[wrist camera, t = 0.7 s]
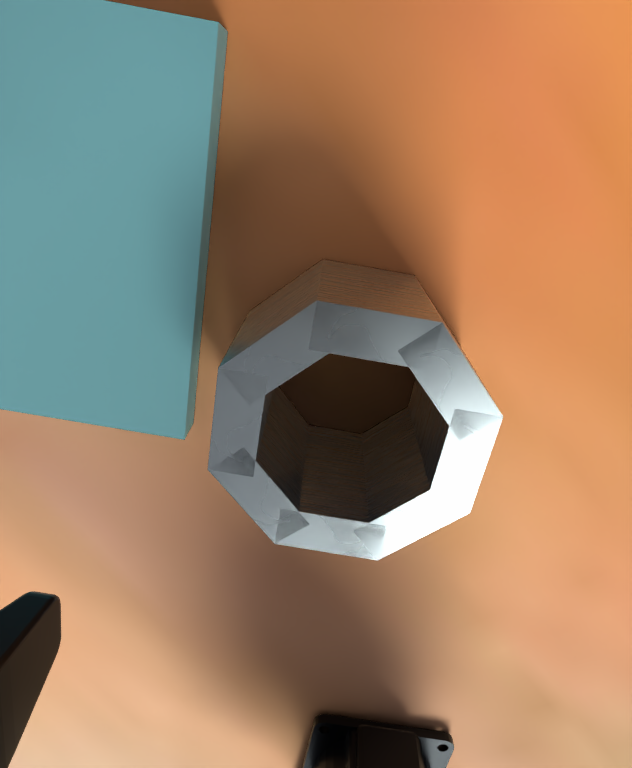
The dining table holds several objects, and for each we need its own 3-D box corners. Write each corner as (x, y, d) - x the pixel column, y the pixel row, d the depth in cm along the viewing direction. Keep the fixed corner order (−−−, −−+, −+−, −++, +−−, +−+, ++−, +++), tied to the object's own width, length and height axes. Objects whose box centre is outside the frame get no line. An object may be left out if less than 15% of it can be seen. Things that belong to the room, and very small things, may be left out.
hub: (423, 474, 20) (449, 572, 15) (233, 442, 20) (201, 531, 15) (478, 286, 17) (530, 337, 12) (257, 247, 17) (226, 284, 12)
